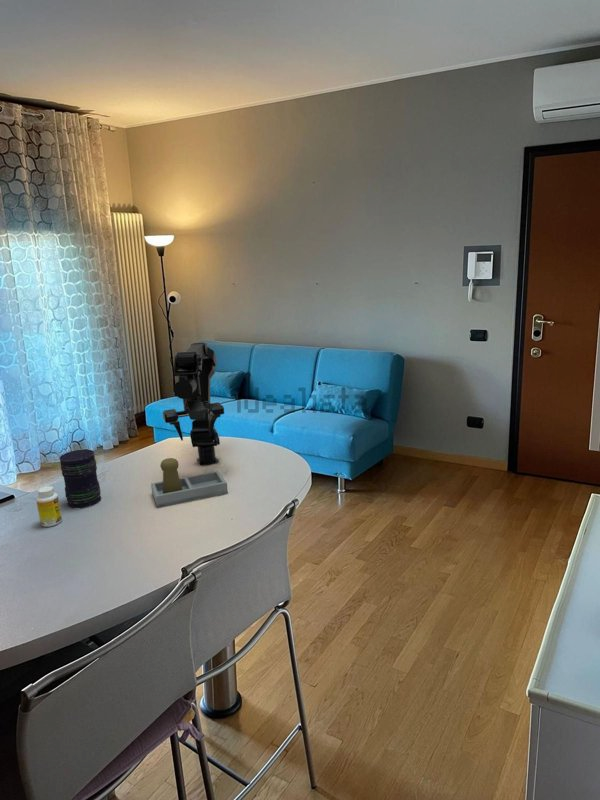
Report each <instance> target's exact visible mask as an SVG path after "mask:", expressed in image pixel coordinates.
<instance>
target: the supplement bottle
mask: <svg viewBox="0 0 600 800" xmlns="http://www.w3.org/2000/svg"><path fill="white" fill-rule="evenodd" d="M37 493H38V494H37V497H36V499H35V501H36V506H37V511H38V517H39V522H40V525H41V526H42V527H46V528H47V527H48V528H49V527H54V526H57V525H59V524H60V523H61V522H62V520H63V518H62V513H61V505H60V501H59V499H60V498H59V495H58V493H57V492H55V489H54V486H51V485H50V486H48V485H47V486H42V487H41V488H39V489H37Z"/></svg>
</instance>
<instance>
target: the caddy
mask: <svg viewBox="0 0 600 800" xmlns="http://www.w3.org/2000/svg"><path fill="white" fill-rule="evenodd" d="M179 478H180V482H181V486H182V489H183V490H180V491H175V492H170V493H165V494H163V480H162V481H156V482H152V483H150V487H151V494H152V498H153V500H154V502H155V505H156V508H157V509H158V508H164V507H168V506H173V505H177V504H182V503H188V502H192V501H193V502H194V501H197V500H202V499H207V498H213V497H217V496H218V497H219V496H223V495H226V494H227V495H228V494H229V491H228V483H227V480H226V479H225V477H223V475H222V474H221V472H220V471H219V470H215V471H210V472H203V473H199V474H193V475H188V476H184V477H179Z"/></svg>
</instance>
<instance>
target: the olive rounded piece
mask: <svg viewBox="0 0 600 800" xmlns="http://www.w3.org/2000/svg"><path fill="white" fill-rule="evenodd" d="M179 466H180V465H179V461H178V460H177V458H173V457H167V458H165V459H162V461H161V462H160V468H161V471H162V472H163V473H162V481H163V494H165V493H170V492H175V491H180V490H183V489H182V486H181V482H180V478H181V477H180V474H179V471H178V468H179Z"/></svg>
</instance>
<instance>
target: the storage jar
mask: <svg viewBox="0 0 600 800" xmlns="http://www.w3.org/2000/svg"><path fill="white" fill-rule="evenodd" d="M59 462H60V469H61V474H62V477H63V480H64V481H63V482H64V485H65V486H64V492H65V499H66V501H67V507H68V506H69V507H68V508H70V507H71V508H70V509H74V508H80V509H86V508H89V506H90V507H93V506H95V505H97V504H99V503H100V502H101V501H102V496H101V487H100V482H99V480H98V475H97V469H98V468H97V461H96V456H95V452H94V450H92V449H86V448H85V449H77V450H72V451H71V450H70V451H67V452H66V453H63V454H61V456H59ZM85 507H86V508H85Z"/></svg>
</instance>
